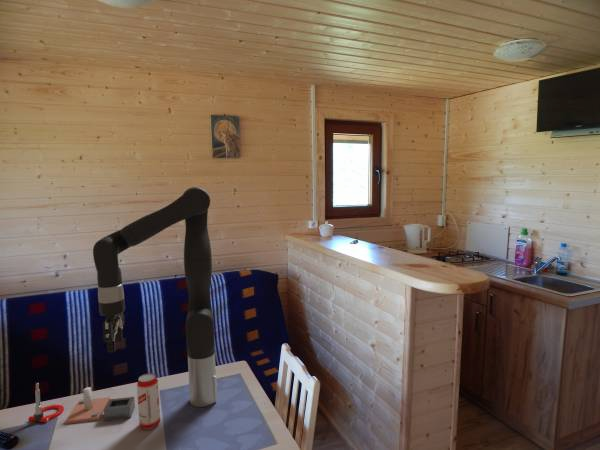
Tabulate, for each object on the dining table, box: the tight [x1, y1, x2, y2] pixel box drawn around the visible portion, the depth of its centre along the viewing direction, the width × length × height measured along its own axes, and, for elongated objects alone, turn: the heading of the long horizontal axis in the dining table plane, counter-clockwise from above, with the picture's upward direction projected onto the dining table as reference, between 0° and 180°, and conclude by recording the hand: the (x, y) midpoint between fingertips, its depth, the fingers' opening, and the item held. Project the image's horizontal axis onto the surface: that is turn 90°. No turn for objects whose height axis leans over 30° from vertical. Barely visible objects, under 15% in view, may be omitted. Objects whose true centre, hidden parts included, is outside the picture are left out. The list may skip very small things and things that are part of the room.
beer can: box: [136, 373, 161, 430], centre depth 123 cm, size 6×6×16 cm
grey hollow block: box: [103, 396, 136, 422], centre depth 129 cm, size 8×6×4 cm
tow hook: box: [28, 382, 65, 424], centre depth 129 cm, size 8×13×9 cm
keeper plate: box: [65, 386, 111, 425], centre depth 131 cm, size 10×12×8 cm
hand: (115, 346), depth 127 cm, fingers open, 8 cm apart
